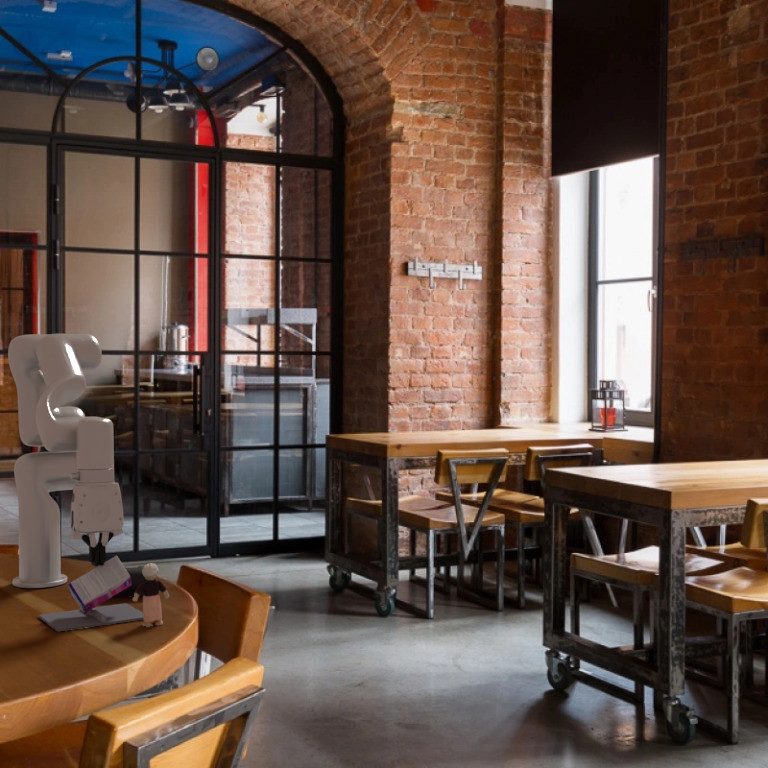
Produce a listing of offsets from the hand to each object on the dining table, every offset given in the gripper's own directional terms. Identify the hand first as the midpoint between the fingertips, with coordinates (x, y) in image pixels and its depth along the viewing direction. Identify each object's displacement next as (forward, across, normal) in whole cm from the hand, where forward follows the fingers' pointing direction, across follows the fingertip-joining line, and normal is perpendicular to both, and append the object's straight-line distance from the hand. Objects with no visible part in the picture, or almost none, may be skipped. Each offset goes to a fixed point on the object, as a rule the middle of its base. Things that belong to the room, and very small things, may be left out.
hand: (97, 564), depth 221 cm
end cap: (+11, +13, +17) cm, 24 cm away
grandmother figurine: (+12, +7, -10) cm, 17 cm away
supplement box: (+7, -4, +1) cm, 8 cm away
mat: (+11, -1, +1) cm, 11 cm away
